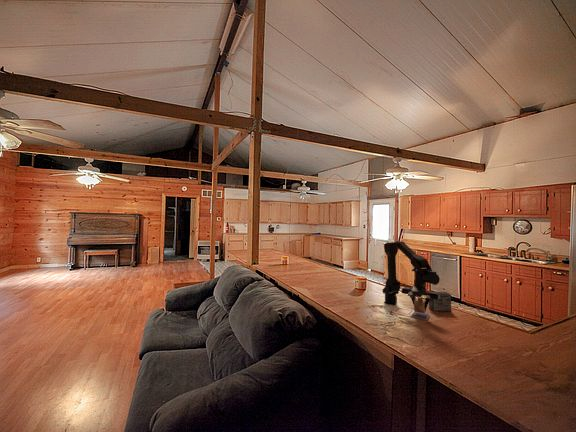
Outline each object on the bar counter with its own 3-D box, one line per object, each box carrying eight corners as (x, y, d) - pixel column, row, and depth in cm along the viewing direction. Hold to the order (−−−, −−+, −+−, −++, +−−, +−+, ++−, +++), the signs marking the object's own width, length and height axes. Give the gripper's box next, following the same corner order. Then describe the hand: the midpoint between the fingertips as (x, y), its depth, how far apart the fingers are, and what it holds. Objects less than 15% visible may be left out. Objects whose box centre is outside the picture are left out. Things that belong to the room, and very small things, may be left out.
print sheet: (391, 312, 151) (391, 311, 151) (398, 307, 161) (398, 306, 161) (409, 316, 145) (409, 315, 145) (415, 311, 154) (415, 310, 154)
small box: (446, 308, 159) (446, 291, 159) (451, 312, 152) (451, 294, 153) (428, 307, 160) (428, 290, 160) (433, 311, 154) (433, 293, 154)
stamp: (414, 311, 145) (414, 297, 145) (416, 308, 149) (416, 295, 149) (423, 313, 142) (423, 299, 142) (426, 310, 145) (426, 297, 146)
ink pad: (410, 316, 145) (410, 314, 145) (414, 313, 151) (414, 310, 151) (426, 320, 139) (426, 317, 139) (429, 316, 145) (429, 313, 145)
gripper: (398, 280, 145) (398, 308, 145) (435, 286, 133) (435, 316, 133) (404, 277, 154) (404, 303, 154) (440, 282, 142) (440, 310, 141)
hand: (420, 308), depth 145 cm, fingers closed on stamp, 5 cm apart
